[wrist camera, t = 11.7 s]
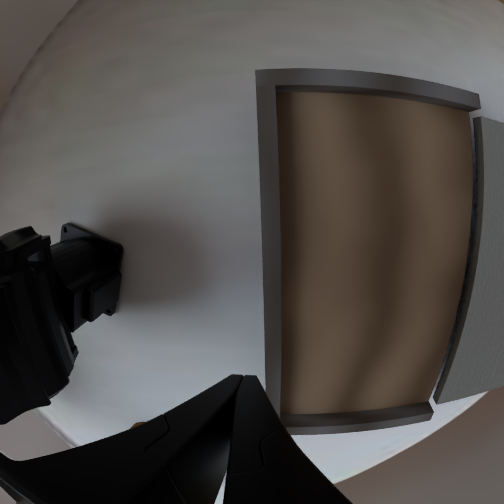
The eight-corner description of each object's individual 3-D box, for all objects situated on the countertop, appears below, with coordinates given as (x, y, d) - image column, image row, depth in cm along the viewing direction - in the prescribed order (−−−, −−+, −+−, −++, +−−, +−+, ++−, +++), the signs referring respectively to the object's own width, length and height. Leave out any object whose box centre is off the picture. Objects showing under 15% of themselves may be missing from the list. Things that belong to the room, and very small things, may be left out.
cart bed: (269, 401, 24) (266, 434, 20) (261, 89, 17) (255, 69, 13) (417, 392, 22) (430, 420, 18) (450, 104, 16) (478, 94, 12)
